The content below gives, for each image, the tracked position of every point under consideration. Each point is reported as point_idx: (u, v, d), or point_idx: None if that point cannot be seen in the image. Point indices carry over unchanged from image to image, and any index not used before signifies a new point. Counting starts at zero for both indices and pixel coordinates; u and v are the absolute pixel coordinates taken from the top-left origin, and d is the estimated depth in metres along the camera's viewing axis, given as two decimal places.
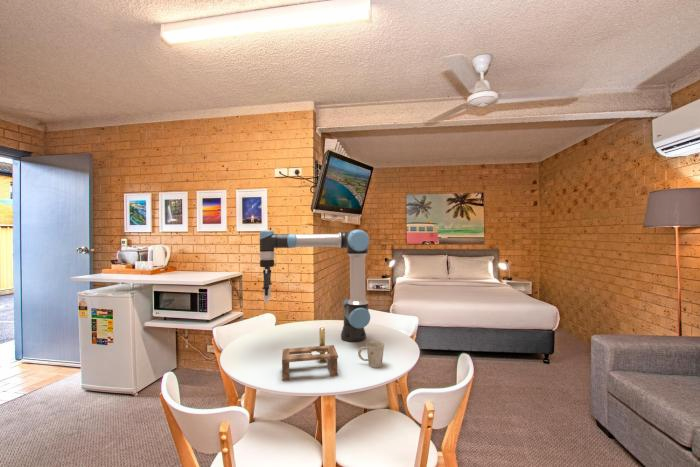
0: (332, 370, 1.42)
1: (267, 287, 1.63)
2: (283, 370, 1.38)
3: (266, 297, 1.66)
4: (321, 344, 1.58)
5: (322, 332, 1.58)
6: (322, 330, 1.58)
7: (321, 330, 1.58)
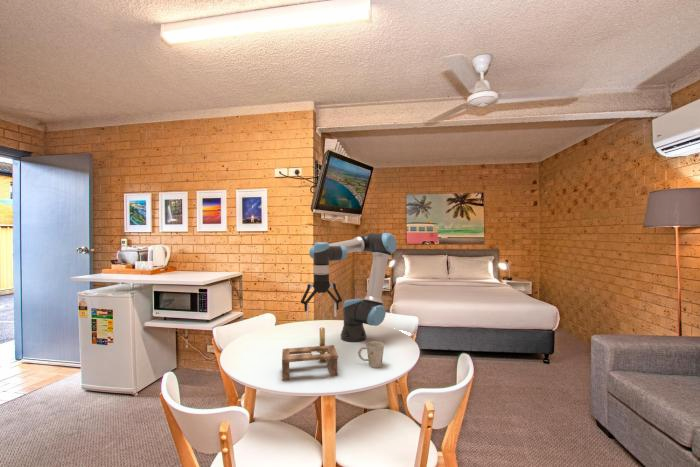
0: (332, 370, 1.42)
1: None
2: (283, 370, 1.38)
3: None
4: (321, 344, 1.58)
5: (322, 332, 1.58)
6: (322, 330, 1.58)
7: (321, 330, 1.58)
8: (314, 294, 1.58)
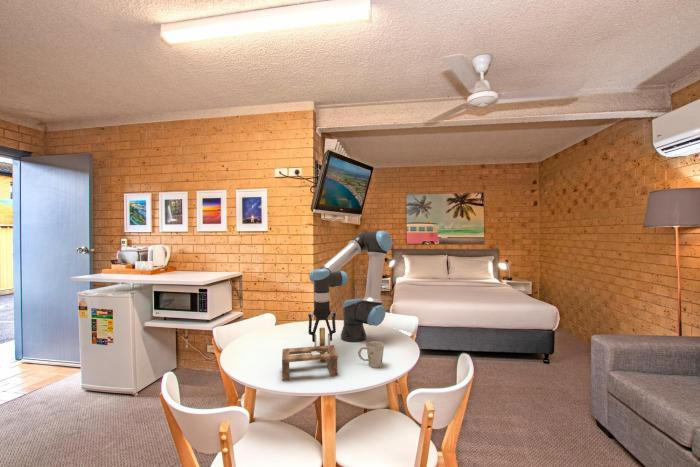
0: (332, 370, 1.42)
1: None
2: (283, 370, 1.38)
3: None
4: (321, 344, 1.58)
5: (322, 332, 1.58)
6: (322, 330, 1.58)
7: (321, 330, 1.58)
8: None
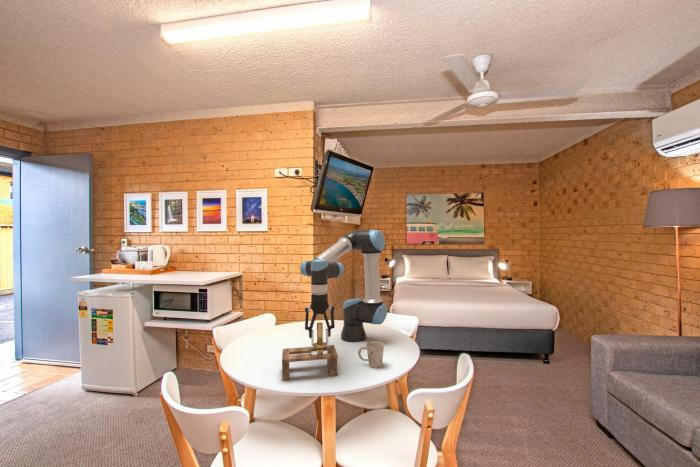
0: (332, 370, 1.42)
1: (305, 328, 1.45)
2: (283, 370, 1.38)
3: (311, 340, 1.47)
4: (319, 340, 1.46)
5: (320, 327, 1.46)
6: (320, 325, 1.46)
7: (319, 325, 1.46)
8: (315, 317, 1.46)
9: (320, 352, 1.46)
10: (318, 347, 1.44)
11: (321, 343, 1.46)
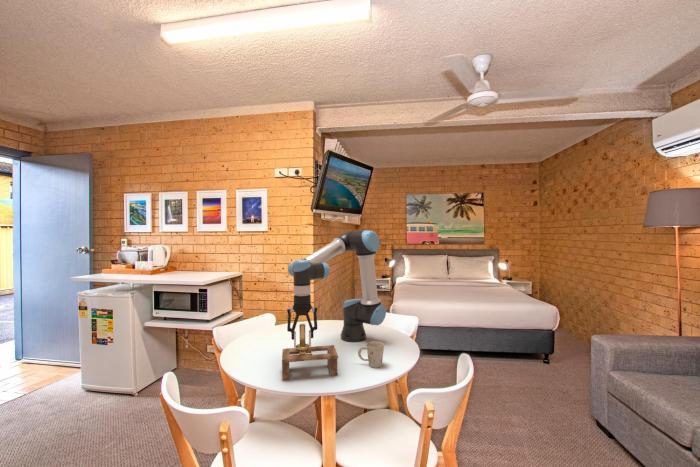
0: (332, 370, 1.42)
1: (287, 330, 1.44)
2: (283, 370, 1.38)
3: (294, 341, 1.45)
4: (301, 342, 1.45)
5: (303, 329, 1.45)
6: (302, 326, 1.45)
7: (301, 326, 1.45)
8: (297, 318, 1.44)
9: None
10: (300, 349, 1.43)
11: (304, 345, 1.45)
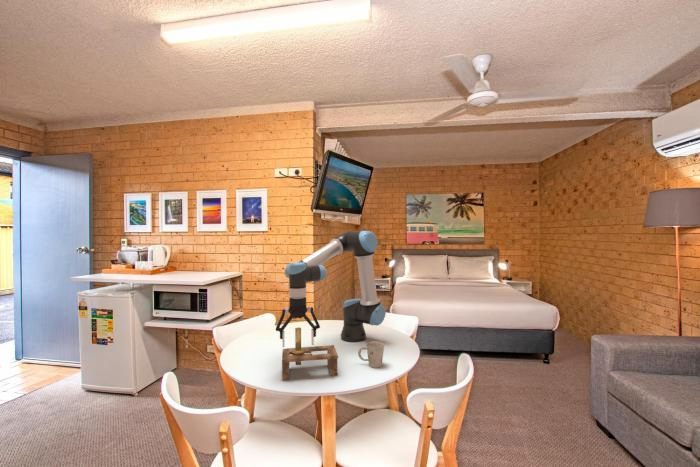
0: (332, 370, 1.42)
1: None
2: (283, 370, 1.38)
3: None
4: (297, 346, 1.44)
5: (298, 333, 1.44)
6: (298, 330, 1.44)
7: (297, 330, 1.44)
8: (290, 320, 1.44)
9: None
10: (296, 353, 1.43)
11: (299, 348, 1.45)
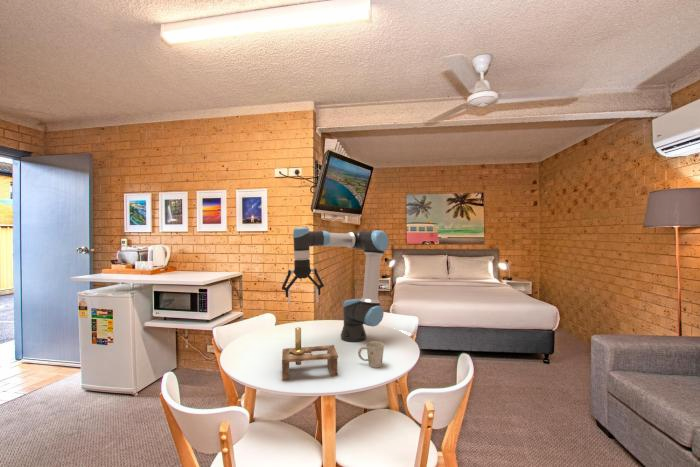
0: (332, 370, 1.42)
1: None
2: (283, 370, 1.38)
3: (288, 299, 1.56)
4: (297, 346, 1.44)
5: (298, 333, 1.44)
6: (298, 330, 1.44)
7: (297, 330, 1.44)
8: (295, 280, 1.56)
9: None
10: (296, 353, 1.43)
11: (299, 348, 1.45)
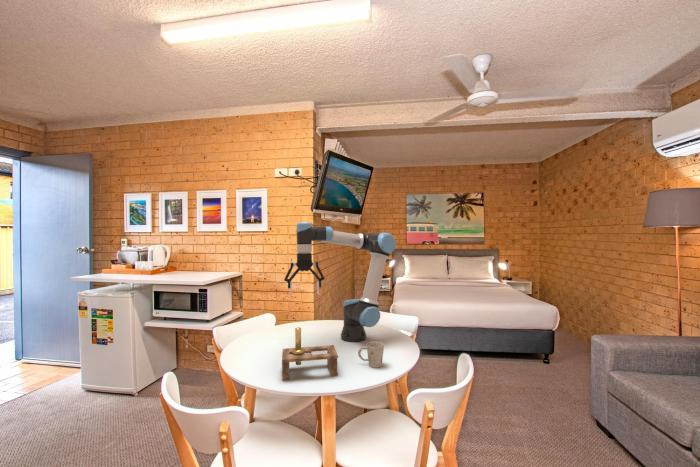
0: (332, 370, 1.42)
1: (284, 280, 1.63)
2: (283, 370, 1.38)
3: (290, 290, 1.64)
4: (297, 346, 1.44)
5: (298, 333, 1.44)
6: (298, 330, 1.44)
7: (297, 330, 1.44)
8: (297, 272, 1.63)
9: None
10: (296, 353, 1.43)
11: (299, 348, 1.45)
